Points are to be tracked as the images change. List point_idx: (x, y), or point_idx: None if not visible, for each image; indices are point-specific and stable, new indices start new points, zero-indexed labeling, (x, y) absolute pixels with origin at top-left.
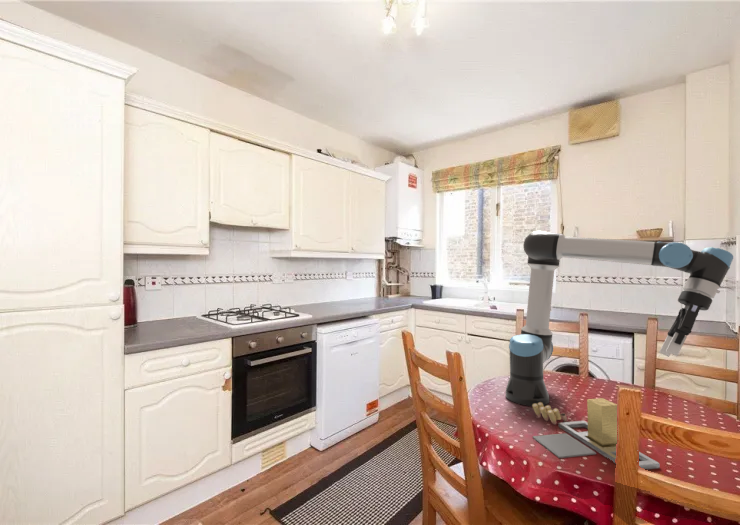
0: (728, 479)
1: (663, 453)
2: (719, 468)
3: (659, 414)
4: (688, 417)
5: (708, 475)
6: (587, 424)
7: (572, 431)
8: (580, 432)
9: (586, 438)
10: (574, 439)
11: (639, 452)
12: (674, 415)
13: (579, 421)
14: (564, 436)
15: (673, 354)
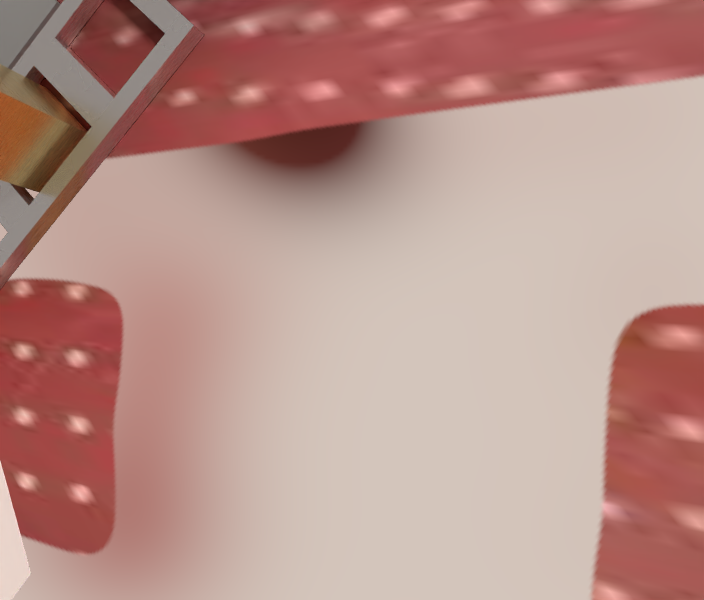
0: None
1: (91, 342)
2: (73, 512)
3: (633, 367)
4: (699, 534)
5: (3, 462)
6: (156, 50)
7: (51, 18)
8: (57, 47)
9: None
10: (20, 43)
11: (2, 259)
12: (680, 454)
13: (171, 12)
14: (26, 6)
15: (10, 537)
